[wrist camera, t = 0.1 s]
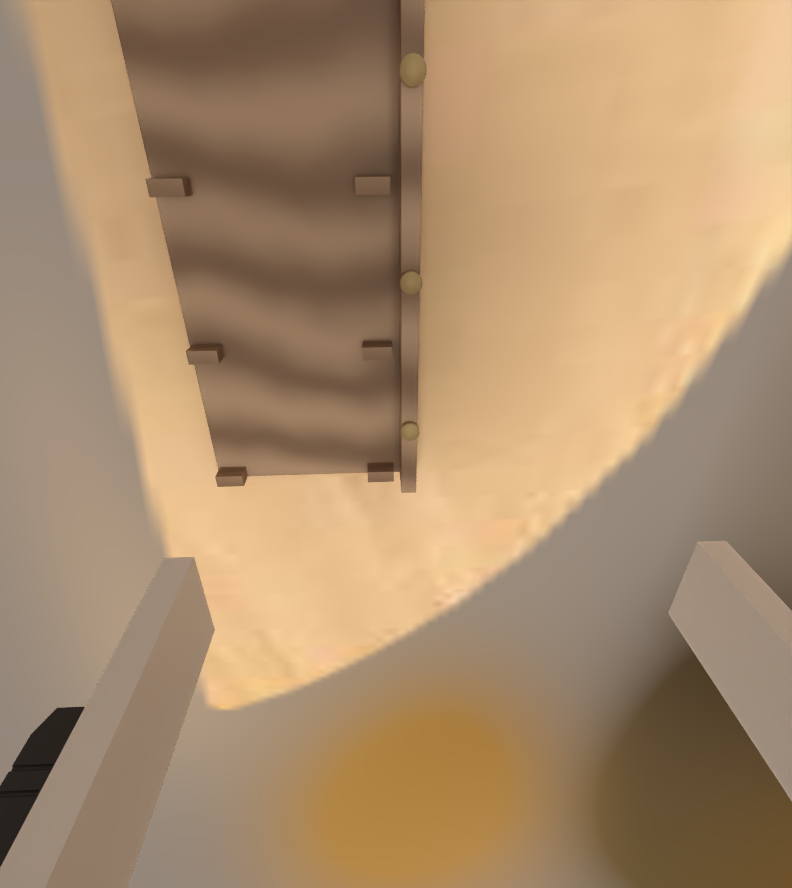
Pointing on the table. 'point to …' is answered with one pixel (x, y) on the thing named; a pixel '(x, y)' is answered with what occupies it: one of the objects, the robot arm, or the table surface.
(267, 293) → the ledge
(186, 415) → the table surface
